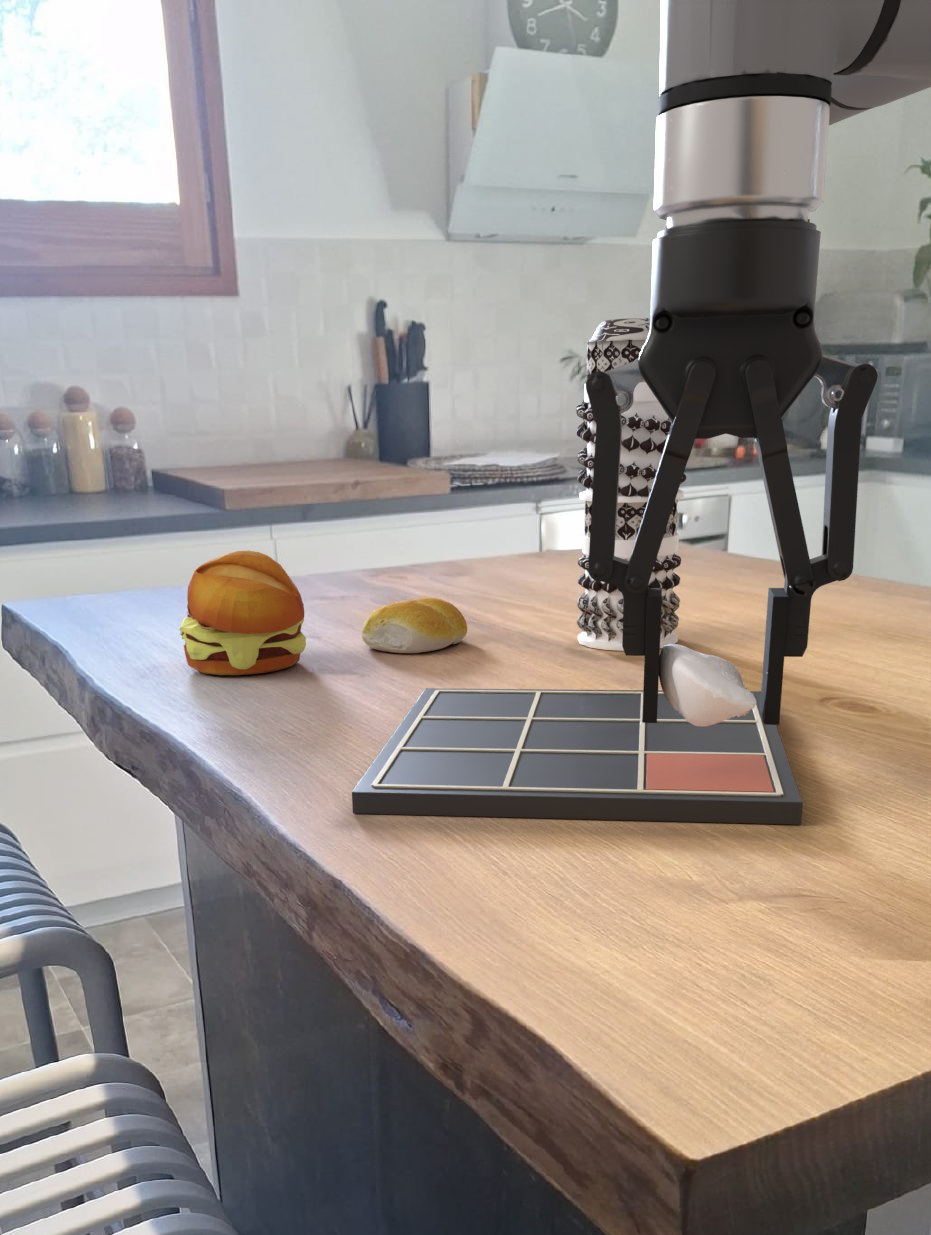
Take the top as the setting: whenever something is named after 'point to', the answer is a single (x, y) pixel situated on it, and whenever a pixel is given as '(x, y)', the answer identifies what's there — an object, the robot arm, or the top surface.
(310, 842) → the top surface
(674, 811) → the board
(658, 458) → the decorative candle
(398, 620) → the bread roll
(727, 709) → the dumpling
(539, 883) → the top surface
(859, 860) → the top surface
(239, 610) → the cheeseburger
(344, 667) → the top surface
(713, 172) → the robot arm
